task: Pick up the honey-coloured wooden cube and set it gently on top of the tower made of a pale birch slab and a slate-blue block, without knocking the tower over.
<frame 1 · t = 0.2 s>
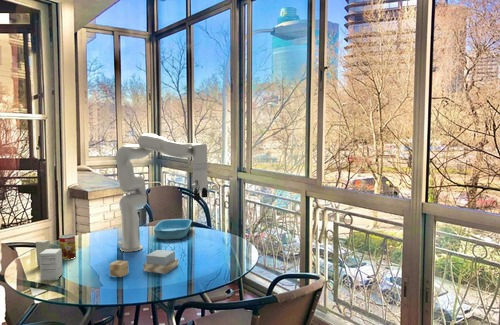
hand: (200, 198, 212), 31 cm above the table, tool pointing down, fingers open, 9 cm apart
slate block: (161, 261, 195), point 3 cm above the table
canned food: (68, 258, 214), on the table
casserole dish: (173, 234, 263), on the table
birch slab: (161, 269, 196), on the table
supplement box: (52, 278, 184), on the table
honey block: (119, 275, 187), on the table
box: (44, 266, 201), on the table
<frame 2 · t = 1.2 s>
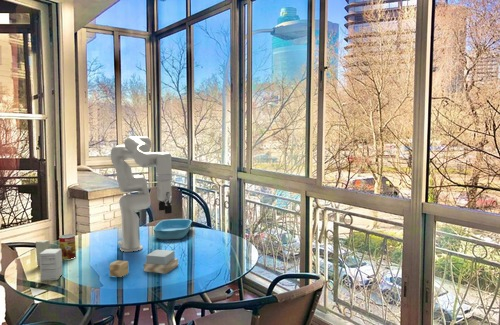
hand: (165, 211, 200), 27 cm above the table, tool pointing down, fingers open, 9 cm apart
slate block: (160, 261, 196), point 4 cm above the table, touching birch slab
birch slab: (161, 269, 196), on the table, touching slate block
everything else where it was.
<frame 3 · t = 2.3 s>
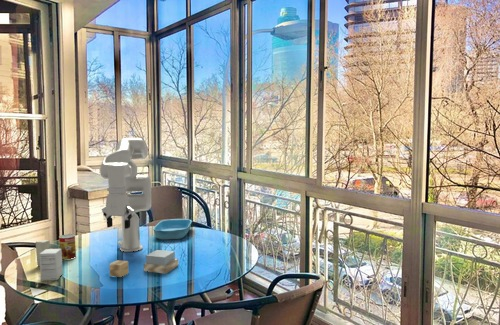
hand: (118, 227, 185), 23 cm above the table, tool pointing down, fingers open, 9 cm apart
nothing on the table moved.
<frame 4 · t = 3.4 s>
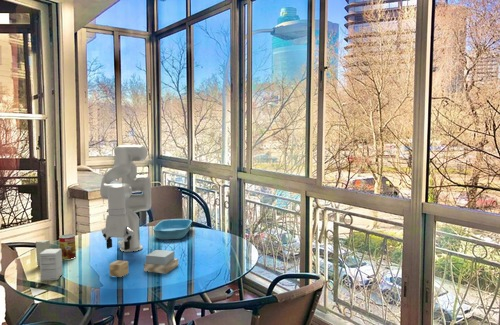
hand: (118, 248, 185), 13 cm above the table, tool pointing down, fingers open, 9 cm apart
nothing on the table moved.
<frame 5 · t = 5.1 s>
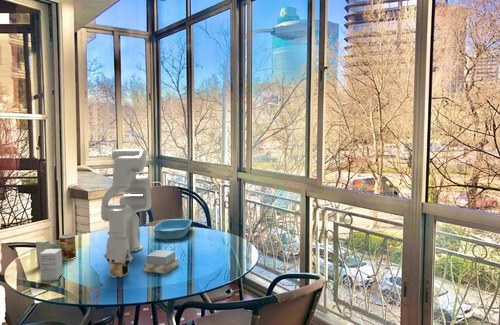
hand: (119, 272, 187), 1 cm above the table, tool pointing down, fingers closed on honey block, 6 cm apart
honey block: (119, 275, 187), on the table, touching gripper
everything else where it was.
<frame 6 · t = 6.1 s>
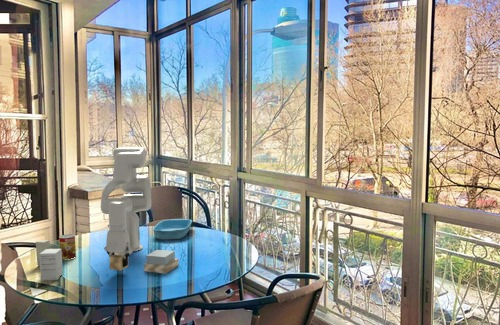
hand: (119, 265, 187), 5 cm above the table, tool pointing down, fingers closed on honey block, 6 cm apart
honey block: (119, 267, 187), point 3 cm above the table, touching gripper
everything else where it was.
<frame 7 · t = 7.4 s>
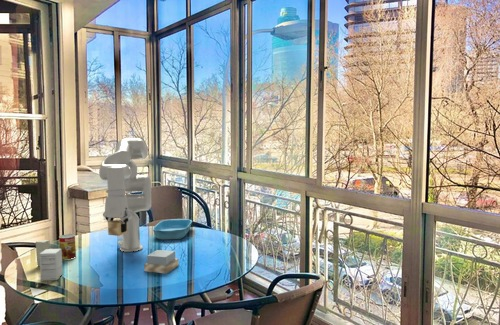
hand: (117, 230, 186), 21 cm above the table, tool pointing down, fingers closed on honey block, 6 cm apart
slate block: (161, 261, 195), point 3 cm above the table
birch slab: (161, 269, 196), on the table
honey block: (117, 233, 186), point 20 cm above the table, touching gripper
everything else where it was.
when the fingers open (10 cm above the table, at t = 11.5 s): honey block moves 1 cm, resting on slate block.
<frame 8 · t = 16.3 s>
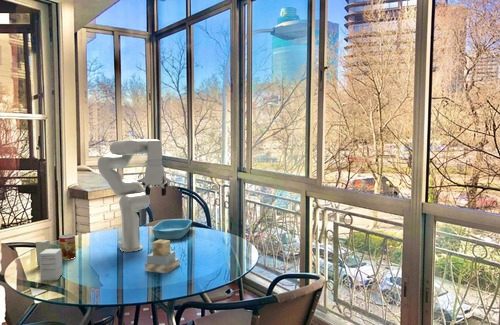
hand: (155, 195, 212), 33 cm above the table, tool pointing down, fingers open, 9 cm apart
slate block: (161, 261, 196), point 3 cm above the table, touching birch slab, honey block
birch slab: (162, 269, 196), on the table, touching slate block
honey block: (161, 253, 195), point 7 cm above the table, touching slate block
everything else where it was.
at the end: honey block 0.4 cm off-centre on the slate block, point 4.0 cm above the slate block's base; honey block tilted 0°; slate block 0.4 cm off-centre on the birch slab, point 4.0 cm above the birch slab's base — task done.
